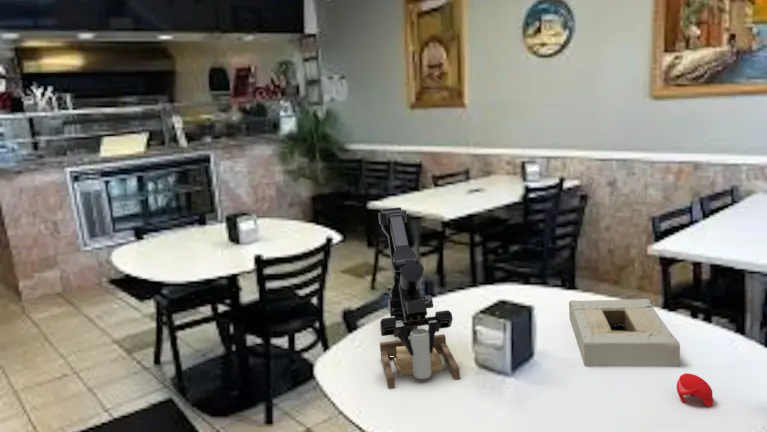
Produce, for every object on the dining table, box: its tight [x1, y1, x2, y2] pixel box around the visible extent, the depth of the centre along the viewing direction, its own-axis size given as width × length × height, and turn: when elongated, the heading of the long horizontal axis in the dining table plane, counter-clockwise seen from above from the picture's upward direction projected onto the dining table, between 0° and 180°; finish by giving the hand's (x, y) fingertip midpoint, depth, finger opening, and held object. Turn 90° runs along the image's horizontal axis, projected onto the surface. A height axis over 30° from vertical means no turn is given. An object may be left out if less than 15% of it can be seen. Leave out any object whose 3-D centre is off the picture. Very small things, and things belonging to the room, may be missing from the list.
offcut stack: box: [393, 346, 443, 377], centre depth 161 cm, size 9×12×4 cm
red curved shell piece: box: [676, 372, 714, 408], centre depth 132 cm, size 8×6×6 cm
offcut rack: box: [379, 333, 461, 389], centre depth 160 cm, size 18×19×5 cm
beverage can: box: [409, 328, 432, 380], centre depth 153 cm, size 5×5×12 cm
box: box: [568, 298, 681, 368], centre depth 165 cm, size 23×8×32 cm
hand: (421, 354), depth 151 cm, fingers closed on beverage can, 5 cm apart
